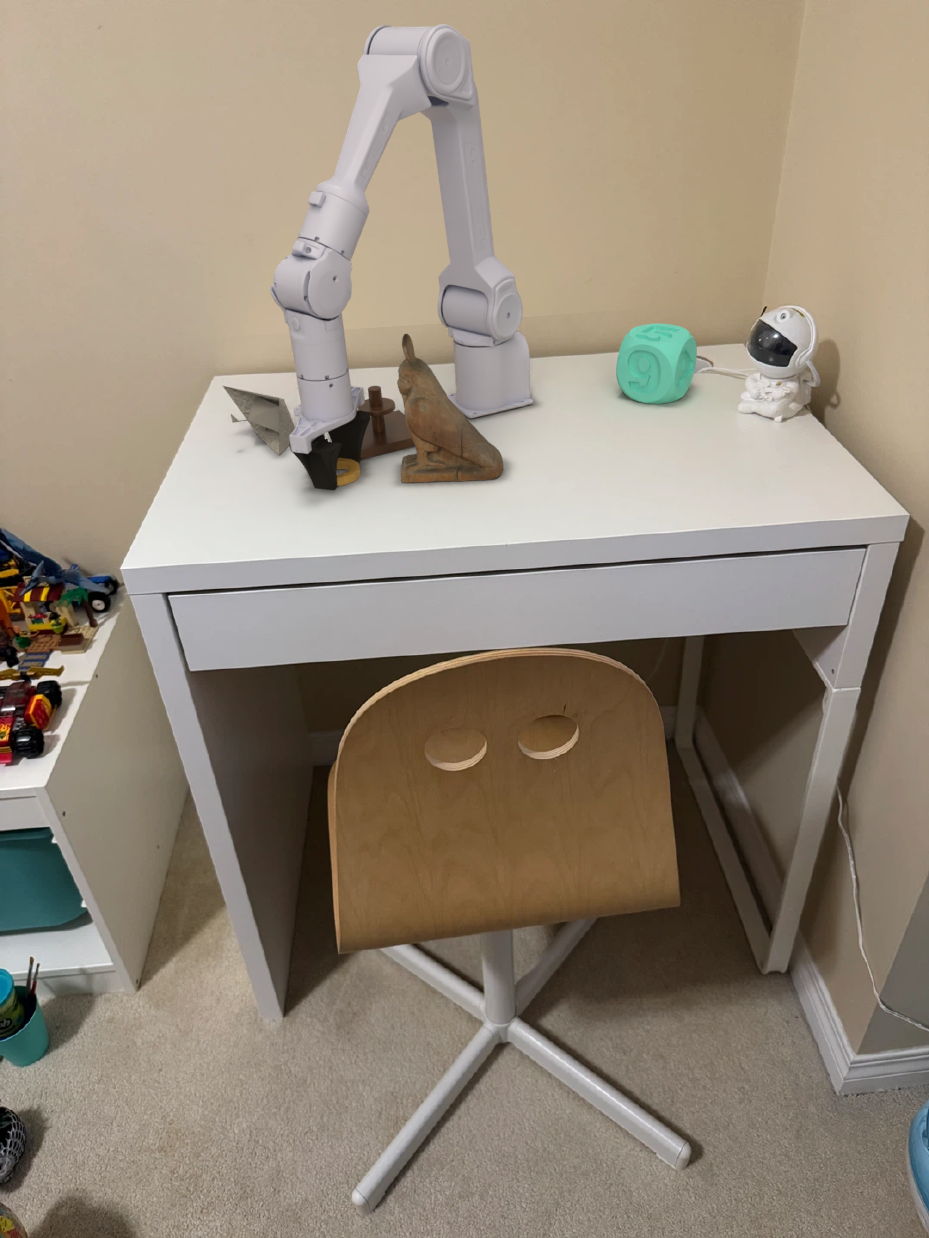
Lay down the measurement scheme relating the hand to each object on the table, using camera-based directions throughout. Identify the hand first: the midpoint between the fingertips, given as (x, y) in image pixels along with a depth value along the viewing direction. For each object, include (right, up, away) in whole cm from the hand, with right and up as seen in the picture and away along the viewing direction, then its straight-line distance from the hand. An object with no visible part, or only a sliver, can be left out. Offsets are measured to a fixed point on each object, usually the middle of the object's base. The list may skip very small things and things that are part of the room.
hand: (338, 484), depth 106 cm
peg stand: (+4, +7, +7) cm, 11 cm away
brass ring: (0, +1, -1) cm, 1 cm away
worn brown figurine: (+13, +1, -1) cm, 14 cm away
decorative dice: (+40, +14, +15) cm, 45 cm away
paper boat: (-11, +7, +9) cm, 16 cm away
